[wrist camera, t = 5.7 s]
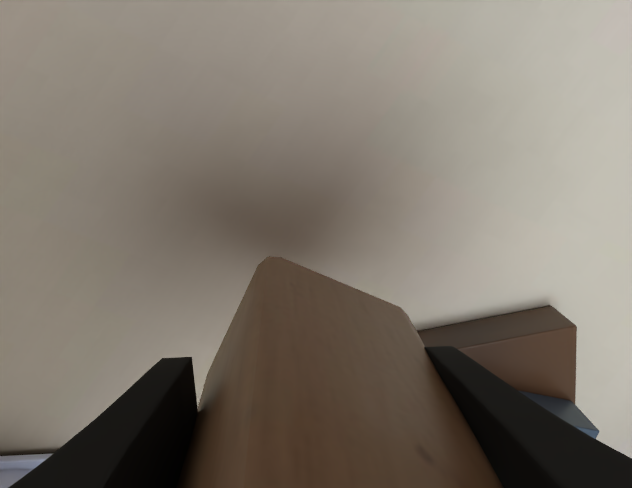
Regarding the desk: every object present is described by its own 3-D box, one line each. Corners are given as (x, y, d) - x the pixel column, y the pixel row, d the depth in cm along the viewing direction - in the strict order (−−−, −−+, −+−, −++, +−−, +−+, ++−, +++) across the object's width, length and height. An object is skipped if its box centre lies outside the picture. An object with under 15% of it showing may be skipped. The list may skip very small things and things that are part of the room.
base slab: (341, 535, 23) (345, 571, 21) (300, 353, 19) (302, 378, 17) (552, 494, 23) (573, 527, 21) (551, 305, 19) (577, 325, 17)
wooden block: (410, 305, 11) (658, 728, 4) (340, 424, 12) (427, 942, 5) (265, 244, 11) (218, 625, 3) (204, 377, 12) (54, 905, 4)
